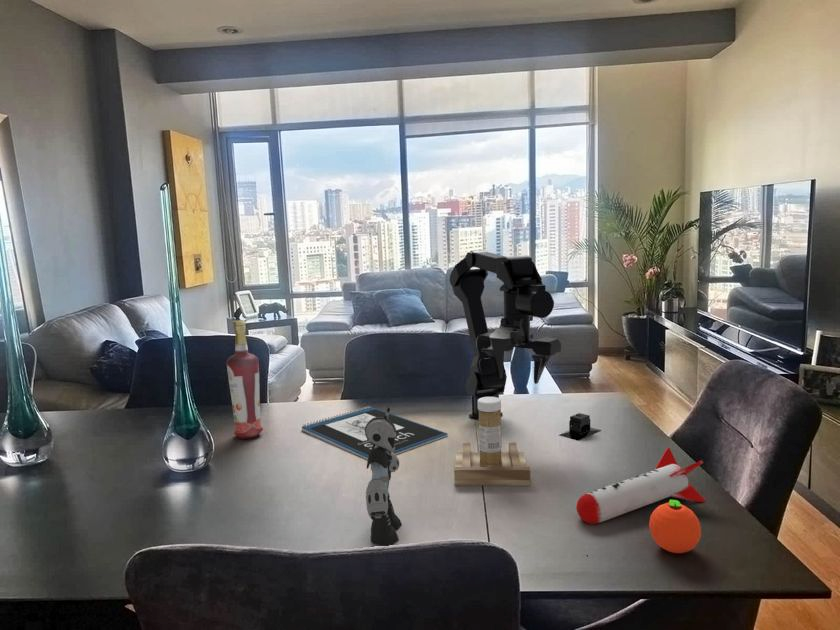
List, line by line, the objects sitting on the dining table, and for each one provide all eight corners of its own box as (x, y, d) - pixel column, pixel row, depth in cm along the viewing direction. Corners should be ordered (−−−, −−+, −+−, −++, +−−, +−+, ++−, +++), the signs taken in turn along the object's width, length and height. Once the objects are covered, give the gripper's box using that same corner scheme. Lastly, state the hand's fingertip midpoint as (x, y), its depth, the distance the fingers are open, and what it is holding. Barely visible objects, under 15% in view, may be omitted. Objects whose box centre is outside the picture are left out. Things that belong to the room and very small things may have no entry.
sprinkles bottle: (501, 460, 118) (500, 395, 116) (502, 469, 114) (501, 402, 112) (478, 460, 118) (477, 396, 117) (479, 469, 114) (477, 402, 112)
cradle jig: (456, 456, 123) (455, 443, 123) (523, 456, 122) (523, 442, 122) (454, 485, 110) (454, 470, 109) (530, 485, 108) (530, 469, 108)
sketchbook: (374, 465, 122) (373, 456, 122) (300, 432, 144) (299, 424, 144) (447, 438, 136) (447, 429, 136) (369, 411, 158) (369, 404, 158)
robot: (378, 503, 103) (373, 394, 100) (406, 503, 103) (401, 393, 100) (360, 567, 84) (352, 433, 81) (394, 567, 84) (387, 432, 81)
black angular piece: (582, 425, 142) (582, 406, 141) (609, 432, 136) (609, 413, 136) (550, 438, 134) (551, 418, 133) (578, 446, 128) (578, 425, 128)
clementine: (646, 531, 91) (647, 488, 90) (695, 536, 89) (696, 492, 88) (650, 559, 83) (651, 512, 82) (704, 565, 81) (705, 517, 80)
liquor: (269, 436, 140) (260, 321, 136) (239, 443, 136) (229, 324, 132) (257, 428, 146) (248, 318, 142) (228, 435, 142) (218, 321, 138)
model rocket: (551, 494, 100) (575, 468, 93) (654, 459, 109) (683, 433, 102) (584, 556, 94) (612, 533, 87) (690, 514, 103) (723, 490, 96)
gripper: (461, 314, 130) (463, 383, 132) (537, 320, 118) (538, 395, 121) (488, 308, 139) (489, 372, 141) (562, 313, 127) (562, 383, 129)
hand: (517, 380), depth 133 cm, fingers open, 9 cm apart
